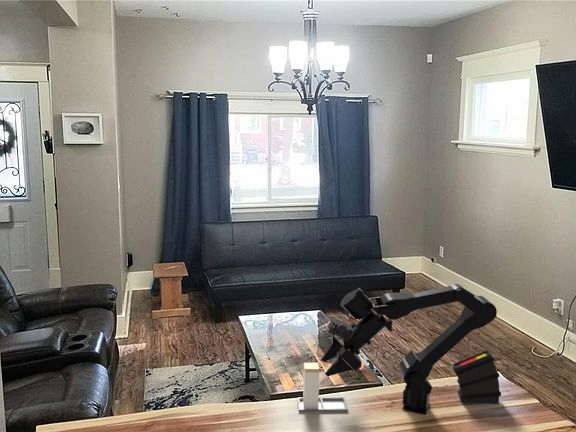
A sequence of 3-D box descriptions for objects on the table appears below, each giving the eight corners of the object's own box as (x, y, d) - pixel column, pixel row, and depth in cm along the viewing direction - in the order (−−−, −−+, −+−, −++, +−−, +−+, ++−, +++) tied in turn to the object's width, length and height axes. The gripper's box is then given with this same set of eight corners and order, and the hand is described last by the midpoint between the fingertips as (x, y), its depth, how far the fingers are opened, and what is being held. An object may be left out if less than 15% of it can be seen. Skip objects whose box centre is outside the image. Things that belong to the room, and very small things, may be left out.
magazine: (511, 399, 165) (492, 354, 163) (468, 416, 167) (448, 372, 164) (506, 393, 169) (488, 349, 167) (464, 410, 170) (445, 366, 168)
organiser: (344, 402, 166) (344, 397, 166) (347, 414, 159) (348, 409, 159) (297, 402, 165) (297, 397, 165) (298, 414, 159) (298, 409, 158)
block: (317, 402, 164) (318, 362, 162) (318, 409, 160) (319, 368, 158) (303, 402, 164) (303, 362, 162) (303, 409, 160) (304, 368, 158)
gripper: (341, 299, 167) (302, 335, 168) (350, 322, 148) (306, 362, 150) (367, 325, 168) (328, 360, 170) (379, 351, 150) (336, 390, 151)
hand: (324, 367), depth 160 cm, fingers open, 9 cm apart
